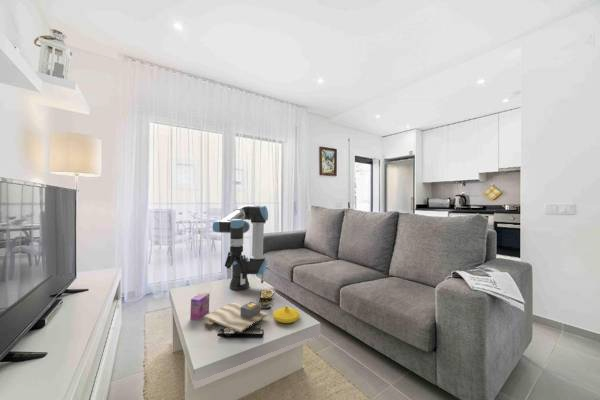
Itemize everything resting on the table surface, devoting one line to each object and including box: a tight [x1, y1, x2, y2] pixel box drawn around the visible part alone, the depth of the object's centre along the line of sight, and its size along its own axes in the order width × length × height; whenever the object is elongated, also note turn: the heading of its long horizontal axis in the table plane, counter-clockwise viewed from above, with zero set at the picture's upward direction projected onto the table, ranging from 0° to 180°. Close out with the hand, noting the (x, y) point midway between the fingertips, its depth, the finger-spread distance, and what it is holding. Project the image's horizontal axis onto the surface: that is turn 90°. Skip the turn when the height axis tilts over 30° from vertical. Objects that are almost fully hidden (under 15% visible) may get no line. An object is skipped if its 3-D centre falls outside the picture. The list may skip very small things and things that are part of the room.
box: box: [189, 292, 210, 321], centre depth 144 cm, size 10×6×12 cm, turn 168°
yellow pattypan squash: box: [272, 306, 301, 324], centre depth 142 cm, size 16×16×7 cm
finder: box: [240, 301, 261, 319], centre depth 140 cm, size 9×7×5 cm
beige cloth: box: [203, 302, 269, 333], centre depth 138 cm, size 25×28×4 cm
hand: (235, 281), depth 145 cm, fingers open, 13 cm apart
